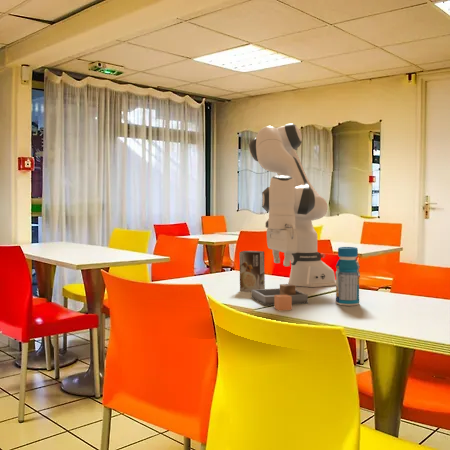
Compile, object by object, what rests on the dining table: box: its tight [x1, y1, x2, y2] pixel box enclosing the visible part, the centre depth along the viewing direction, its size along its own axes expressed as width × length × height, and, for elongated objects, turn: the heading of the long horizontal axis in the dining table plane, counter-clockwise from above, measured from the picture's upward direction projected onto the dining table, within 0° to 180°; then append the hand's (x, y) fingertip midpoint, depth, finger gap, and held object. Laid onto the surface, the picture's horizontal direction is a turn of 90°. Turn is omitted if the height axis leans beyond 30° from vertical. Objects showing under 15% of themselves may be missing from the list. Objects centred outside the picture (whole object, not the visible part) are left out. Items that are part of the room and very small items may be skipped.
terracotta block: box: [273, 295, 293, 311], centre depth 183 cm, size 4×4×4 cm
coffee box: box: [238, 250, 266, 293], centre depth 219 cm, size 9×6×16 cm
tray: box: [251, 287, 309, 306], centre depth 198 cm, size 16×16×3 cm
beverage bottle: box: [334, 246, 361, 307], centre depth 190 cm, size 8×8×20 cm
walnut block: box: [279, 283, 297, 295], centre depth 199 cm, size 4×4×4 cm
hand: (281, 264), depth 182 cm, fingers open, 8 cm apart
